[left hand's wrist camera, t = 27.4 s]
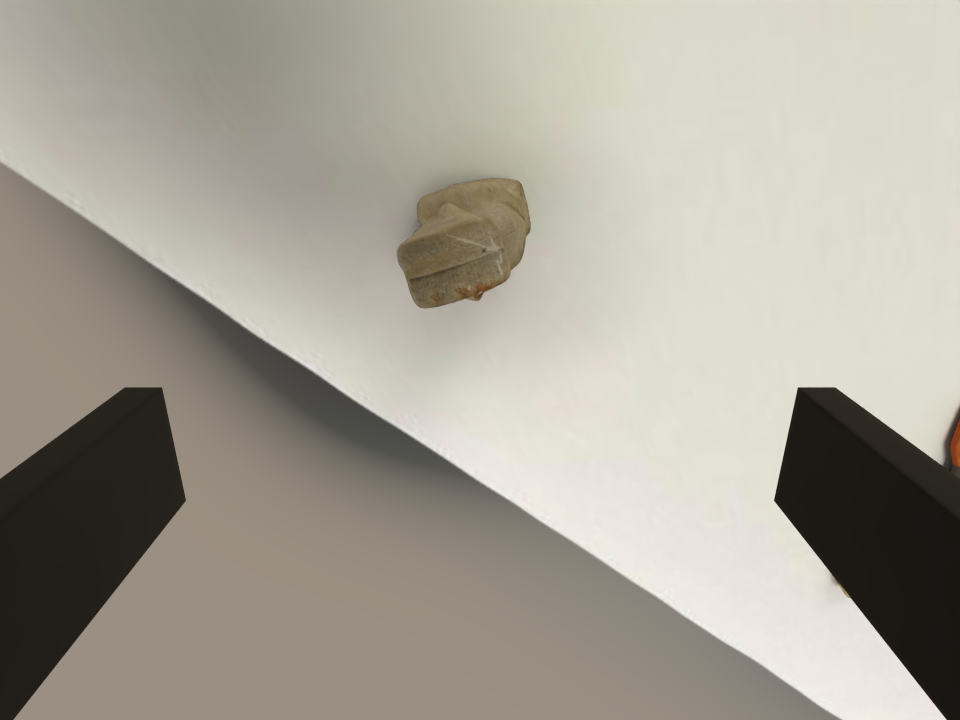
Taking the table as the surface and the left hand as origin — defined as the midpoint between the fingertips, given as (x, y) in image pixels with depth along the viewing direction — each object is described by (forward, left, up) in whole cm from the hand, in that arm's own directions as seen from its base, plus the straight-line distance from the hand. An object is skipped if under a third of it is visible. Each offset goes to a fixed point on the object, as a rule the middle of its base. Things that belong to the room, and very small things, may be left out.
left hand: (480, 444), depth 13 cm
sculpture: (-1, 0, -31) cm, 31 cm away
